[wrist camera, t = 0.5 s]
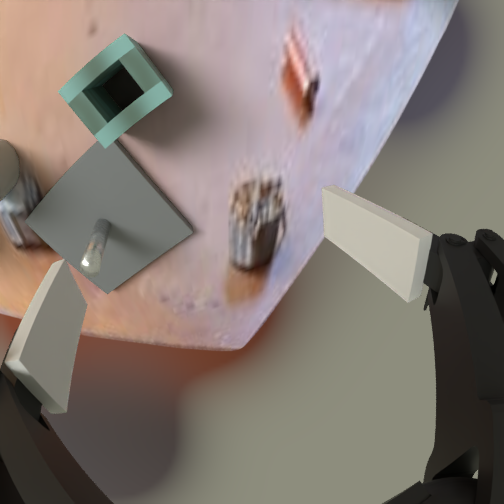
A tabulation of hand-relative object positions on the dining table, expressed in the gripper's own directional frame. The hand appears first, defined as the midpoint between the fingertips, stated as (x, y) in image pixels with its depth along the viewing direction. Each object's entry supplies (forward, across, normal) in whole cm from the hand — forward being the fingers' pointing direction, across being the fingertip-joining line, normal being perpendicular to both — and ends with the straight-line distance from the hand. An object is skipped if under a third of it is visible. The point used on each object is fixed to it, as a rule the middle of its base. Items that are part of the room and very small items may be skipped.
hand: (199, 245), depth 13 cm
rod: (+25, -11, -5) cm, 28 cm away
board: (+26, -11, -5) cm, 29 cm away
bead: (+23, -4, +12) cm, 26 cm away
